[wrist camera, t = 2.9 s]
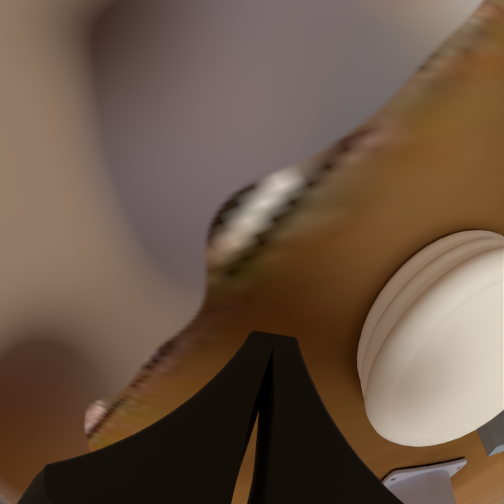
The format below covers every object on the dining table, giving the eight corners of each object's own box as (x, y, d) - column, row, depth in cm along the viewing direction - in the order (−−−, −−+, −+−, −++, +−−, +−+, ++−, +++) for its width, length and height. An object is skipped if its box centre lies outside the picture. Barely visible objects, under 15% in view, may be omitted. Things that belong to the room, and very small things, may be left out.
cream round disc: (331, 403, 13) (334, 457, 9) (385, 207, 10) (423, 230, 6) (476, 396, 12) (495, 434, 8) (542, 243, 8) (583, 268, 5)
